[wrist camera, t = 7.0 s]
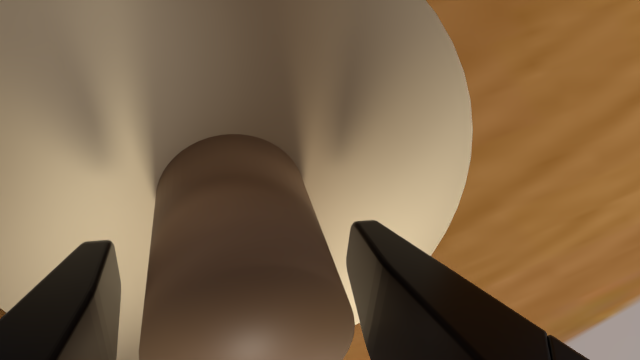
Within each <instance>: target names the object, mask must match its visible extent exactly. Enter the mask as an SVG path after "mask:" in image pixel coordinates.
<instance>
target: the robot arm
mask: <svg viewBox="0 0 640 360" xmlns="http://www.w3.org/2000/svg"><path fill="white" fill-rule="evenodd" d="M346 267H347V273H348V277H349V281H350V285H351V289H352V293H353V297H354V301H355V305H356V309H357V313H358V317H359V321H360V325H361V328H362V332H363V336H364V340H365V344H366V347H367V350H368V353H369V356H370V359H371V360H589V359H587V358H586V357H584V356H583V355H581V354H580V353H578V352H576V351H575V350H573V349H572V348H570V347H569V346H567V345H566V344H564V343H563V342H561V341H560V340H558V339H557V338H555V337H553V336H552V335H548V336H547V333H546V332H545V331H544V330H543V329H541V328H539V327H538V326H536V325H535V324H533V323H532V322H530V321H529V320H527V319H526V318H524V317H523V316H521V315H520V314H518V313H517V312H515V311H514V310H512V309H510V308H509V307H507V306H506V305H504V304H503V303H501V302H500V301H498V300H497V299H495V298H494V297H492V296H491V295H489V294H488V293H486V292H485V291H483V290H482V289H480V288H478V287H477V286H475V285H474V284H472V283H471V282H469V281H468V280H466V279H465V278H463V277H462V276H460V275H459V274H457V273H456V272H454V271H453V270H451V269H450V268H448V267H446V266H445V265H443V264H442V263H440V262H439V261H437V260H436V259H434V258H433V257H431V256H430V255H428V254H427V253H425V252H424V251H422V250H421V249H419V248H418V247H416V246H414V245H413V244H411V243H410V242H408V241H407V240H405V239H404V238H402V237H401V236H399V235H398V234H396V233H395V232H393V231H392V230H390V229H389V228H387V227H386V226H384V225H382V224H381V223H379V222H378V221H376V220H364V221H355V222H354V223H353V224H352V226H351V228H350V234H349V241H348V248H347V255H346ZM120 302H121V280H120V274H119V268H118V263H117V257H116V252H115V247H114V244H113V242H112V241H110V240H98V241H87V242H83V243H82V244H80V245H79V246H78V247H77V248H76V249H75V250H74V251H73V252H72V253H70V254H69V255H68V256H67V257H66V258H65V259H64V260H63V261H62V262H61V263H60V264H59V265H58V266H57V267H55V268H54V269H53V270H52V271H51V272H50V273H49V274H48V275H47V276H46V277H45V278H44V279H43V280H41V281H40V282H39V283H38V284H37V285H36V286H35V287H34V288H33V289H32V290H31V291H30V292H29V293H27V294H26V295H25V296H24V297H23V298H22V299H21V300H20V301H19V302H18V303H17V304H16V305H15V306H13V307H12V308H11V309H10V310H9V311H8V312H7V313H6V314H5V315H4V316H3V317H2V318H1V319H0V360H116V358H117V344H118V330H119V316H120Z"/></svg>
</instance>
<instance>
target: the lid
mask: <svg viewBox="0 0 640 360" xmlns="http://www.w3.org/2000/svg"><path fill="white" fill-rule="evenodd" d="M472 132H473V128H472V114H471V101H470V97H469V92H468V88H467V83H466V79H465V74H464V71H463V68H462V65H461V63H460V60H459V58H458V55H457V52H456V50H455V47H454V45H453V42H452V41H451V39H450V37H449V35H448V34H447V32H446V30H445V28H444V27H443V25H442V23H441V21H440V20H439V18H438V16H437V14H436V13H435V12H434V10H433V9H432V8H431V7H430V5H429V4H428V3H427V2H426V0H0V308H1V309H2V310H3V311H5V312H6V313H7V312H8V311H9V310H10V309H11V308H12V307H13V306H15V305H16V304H17V303H18V302H19V301H20V300H21V299H22V298H23V297H24V296H25V295H26V294H27V293H29V292H30V291H31V290H32V289H33V288H34V287H35V286H36V285H37V284H38V283H39V282H40V281H41V280H43V279H44V278H45V277H46V276H47V275H48V274H49V273H50V272H51V271H52V270H53V269H54V268H55V267H57V266H58V265H59V264H60V263H61V262H62V261H63V260H64V259H65V258H66V257H67V256H68V255H69V254H70V253H72V252H73V251H74V250H75V249H76V248H77V247H78V246H79V245H80V244H82V243H83V242H87V241H98V240H110V241H112V242H113V244H114V247H115V252H116V257H117V263H118V268H119V274H120V280H121V302H120V316H119V330H118V344H117V358H116V360H343V358H344V356H345V355H346V353H347V351H348V350H349V347H350V345H351V342H352V339H353V335H354V327H355V325H356V324H358V323H359V322H360V321H359V317H358V313H357V309H356V305H355V301H354V297H353V293H352V289H351V285H350V281H349V277H348V273H347V267H346V255H347V248H348V241H349V234H350V228H351V226H352V224H353V223H354V222H355V221H364V220H376V221H378V222H379V223H381V224H382V225H384V226H386V227H387V228H389V229H390V230H392V231H393V232H395V233H396V234H398V235H399V236H401V237H402V238H404V239H405V240H407V241H408V242H410V243H411V244H413V245H414V246H416V247H418V248H419V249H421V250H422V251H424V252H425V253H427V254H428V255H430V256H431V255H432V253H433V252H434V250H435V249H436V247H437V245H438V244H439V242H440V241H441V239H442V237H443V236H444V234H445V233H446V231H447V229H448V227H449V224H450V222H451V220H452V218H453V216H454V214H455V212H456V210H457V207H458V204H459V202H460V199H461V196H462V193H463V190H464V187H465V184H466V179H467V174H468V169H469V164H470V159H471V147H472Z"/></svg>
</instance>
